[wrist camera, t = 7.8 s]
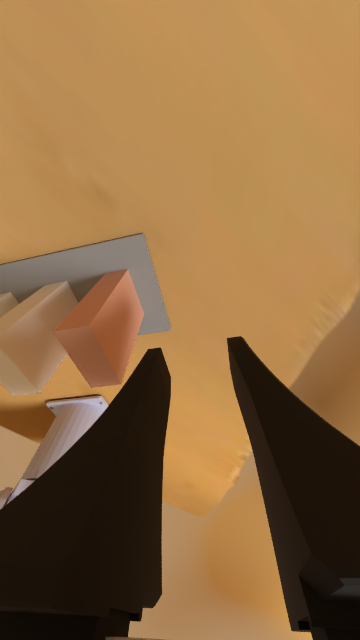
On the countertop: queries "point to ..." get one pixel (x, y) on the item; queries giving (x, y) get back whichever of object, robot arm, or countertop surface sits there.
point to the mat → (92, 275)
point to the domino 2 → (103, 329)
